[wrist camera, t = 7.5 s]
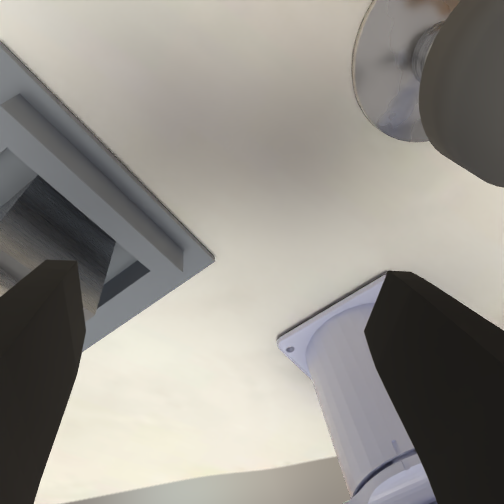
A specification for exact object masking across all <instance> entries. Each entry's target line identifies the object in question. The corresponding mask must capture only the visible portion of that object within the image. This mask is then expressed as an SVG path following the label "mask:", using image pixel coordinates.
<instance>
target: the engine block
mask: <svg viewBox="0 0 504 504" xmlns="http://www.w3.org/2000/svg"><path fill="white" fill-rule="evenodd" d="M115 243H116V241H115V240H114V239H113V238H112V237H110V236H109V235H108V234H107V233H106V232H105V231H103V230H102V229H101V228H100V227H99V226H98V225H96V224H95V223H94V222H93V221H92V220H91V219H89V218H88V217H87V216H86V215H85V214H83V213H82V212H81V211H80V210H79V209H78V208H76V207H75V206H74V205H73V204H72V203H71V202H69V201H68V200H67V199H66V198H65V197H64V196H62V195H61V194H60V193H59V192H58V191H57V190H55V189H54V188H53V187H52V186H51V185H50V184H48V183H47V182H46V181H45V180H44V179H42V178H41V177H40V176H39V175H37V176H36V177H35V178H34V179H33V180H31V181H30V182H29V183H28V184H27V185H26V186H24V187H23V188H22V189H21V190H20V191H19V192H18V193H16V194H15V195H14V196H13V197H12V198H11V199H10V200H8V201H7V202H6V203H5V204H4V205H3V206H1V207H0V297H1V296H2V295H3V294H4V293H6V292H7V291H8V290H9V289H10V288H12V287H13V286H14V285H15V284H17V283H18V282H19V281H20V280H21V279H23V278H24V277H25V276H26V275H28V274H29V273H30V272H31V271H33V270H34V269H35V268H36V267H37V266H39V265H40V264H41V263H43V262H44V261H45V260H73V261H77V263H78V271H79V279H80V287H81V294H82V302H83V310H84V318H85V322H86V321H87V320H89V319H90V318H92V317H93V316H94V315H95V314H96V310H97V307H98V303H99V300H100V296H101V292H102V289H103V285H104V282H105V278H106V275H107V271H108V268H109V264H110V261H111V257H112V254H113V250H114V247H115Z"/></svg>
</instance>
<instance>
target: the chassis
mask: <svg viewBox="0 0 504 504" xmlns="http://www.w3.org/2000/svg"><path fill="white" fill-rule="evenodd" d="M37 175H39V176H40V177H41V178H42V179H44V180H45V181H46V182H47V183H48V184H50V185H51V186H52V187H53V188H54V189H55V190H57V191H58V192H59V193H60V194H61V195H62V196H64V197H65V198H66V199H67V200H68V201H69V202H71V203H72V204H73V205H74V206H75V207H76V208H78V209H79V210H80V211H81V212H82V213H83V214H85V215H86V216H87V217H88V218H89V219H91V220H92V221H93V222H94V223H95V224H96V225H98V226H99V227H100V228H101V229H102V230H103V231H105V232H106V233H107V234H108V235H109V236H110V237H112V238H113V239H114V240H115V241H116V243H115V247H114V250H113V254H112V257H111V261H110V264H109V268H108V271H107V275H106V278H105V282H104V285H103V289H102V292H101V296H100V300H99V303H98V307H97V310H96V314H95V315H94V316H93V317H92V318H90V319H89V320H87V321H86V322H85V326H86V334H85V339H84V344H83V349H82V352H83V351H84V350H86V349H87V348H89V347H90V346H92V345H93V344H95V343H96V342H98V341H99V340H101V339H102V338H103V337H105V336H106V335H108V334H109V333H111V332H112V331H114V330H115V329H117V328H118V327H120V326H121V325H123V324H124V323H125V322H127V321H128V320H130V319H131V318H133V317H134V316H136V315H137V314H139V313H140V312H142V311H143V310H145V309H146V308H147V307H149V306H150V305H152V304H153V303H155V302H156V301H158V300H159V299H161V298H162V297H164V296H165V295H167V294H168V293H169V292H171V291H172V290H174V289H175V288H177V287H178V286H180V285H181V284H183V283H184V282H186V281H187V280H189V279H190V278H191V277H193V276H194V275H196V274H197V273H199V272H200V271H202V270H203V269H205V268H206V267H208V266H209V265H211V264H212V263H213V262H215V258H214V256H213V255H212V254H211V253H210V252H209V251H208V250H207V249H206V248H205V247H204V246H203V245H202V244H201V243H200V242H199V241H198V240H197V239H196V238H195V237H194V236H193V235H192V234H191V233H190V232H189V231H188V230H187V229H186V228H185V227H184V226H183V225H182V224H181V223H180V222H179V221H178V220H177V219H176V218H175V217H174V216H173V215H172V214H171V213H170V212H169V211H168V210H167V209H166V208H165V207H164V206H163V205H162V204H161V203H160V202H159V201H158V200H157V199H156V198H155V197H154V196H153V195H152V194H151V193H150V192H149V191H148V190H147V189H146V188H145V187H144V186H143V185H142V184H141V183H140V182H139V181H138V180H137V179H136V178H135V177H134V176H133V174H132V173H131V172H130V171H129V170H128V169H127V168H126V167H125V166H124V165H123V164H122V163H121V162H120V161H119V160H118V159H117V158H116V157H115V156H114V155H113V154H112V153H111V152H110V151H109V150H108V149H107V148H106V147H105V146H104V145H103V144H102V143H101V142H100V141H99V140H98V139H97V138H96V137H95V136H94V135H93V134H92V133H91V132H90V131H89V130H88V129H87V128H86V127H85V126H84V125H83V124H82V123H81V122H80V121H79V120H78V119H77V118H76V117H75V116H74V115H73V114H72V113H71V112H70V111H69V110H68V109H67V108H66V107H65V106H64V105H63V104H62V103H61V102H60V101H59V100H58V99H57V98H56V97H55V96H54V95H53V94H52V93H51V92H50V91H49V90H48V89H47V88H46V87H45V86H44V85H43V84H42V83H41V82H40V81H39V80H38V79H37V78H36V77H35V76H34V75H33V74H32V73H31V72H30V71H29V70H28V69H27V68H26V67H25V66H24V65H23V64H22V63H21V62H20V61H19V59H18V58H17V57H16V56H15V55H14V54H13V53H12V52H11V51H10V50H9V49H8V48H7V47H6V46H5V45H4V44H3V43H2V42H1V41H0V207H1V206H3V205H4V204H5V203H6V202H7V201H8V200H10V199H11V198H12V197H13V196H14V195H15V194H16V193H18V192H19V191H20V190H21V189H22V188H23V187H24V186H26V185H27V184H28V183H29V182H30V181H31V180H33V179H34V178H35V177H36V176H37Z"/></svg>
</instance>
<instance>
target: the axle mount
mask: <svg viewBox="0 0 504 504" xmlns="http://www.w3.org/2000/svg"><path fill="white" fill-rule="evenodd" d="M460 1H461V0H373V2H372V3H371V5H370V7H369V9H368V10H367V12H366V14H365V17H364V19H363V21H362V23H361V26H360V29H359V32H358V35H357V38H356V42H355V47H354V51H353V60H352V79H353V87H354V91H355V95H356V98H357V101H358V103H359V106H360V108H361V109H362V111H363V113H364V114H365V116H366V117H367V118H368V120H369V121H370V122H371V123H372V124H373V125H374V126H376V127H377V128H378V129H379V130H381V131H382V132H384V133H385V134H387V135H389V136H391V137H393V138H396V139H398V140H403V141H408V142H424V141H429V139H428V137H427V135H426V134H425V132H424V129H423V126H422V123H421V118H420V112H419V88H420V81H421V76H422V71H423V68H424V65H425V61H426V58H427V55H428V53H429V51H430V48H431V46H432V44H433V41H434V39H435V38H436V36H437V34H438V32H439V30H440V28H441V27H442V25H443V24H444V22H445V21H446V19H447V18H448V16H449V15H450V13H451V12H452V11H453V9H454V8H455V7H456V6H457V4H458V3H459V2H460Z"/></svg>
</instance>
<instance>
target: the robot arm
mask: <svg viewBox="0 0 504 504" xmlns="http://www.w3.org/2000/svg"><path fill="white" fill-rule="evenodd" d="M85 334H86V326H85V318H84V310H83V302H82V294H81V287H80V279H79V271H78V263H77V261H73V260H45V261H44V262H43V263H41V264H40V265H39V266H37V267H36V268H35V269H34V270H33V271H31V272H30V273H29V274H28V275H26V276H25V277H24V278H23V279H21V280H20V281H19V282H18V283H17V284H15V285H14V286H13V287H12V288H10V289H9V290H8V291H7V292H6V293H4V294H3V295H2V296H1V297H0V504H34V500H35V497H36V494H37V490H38V487H39V484H40V481H41V477H42V475H43V472H44V469H45V466H46V463H47V460H48V457H49V454H50V452H51V449H52V446H53V443H54V440H55V437H56V434H57V431H58V429H59V426H60V423H61V420H62V417H63V414H64V411H65V408H66V405H67V402H68V400H69V397H70V394H71V391H72V388H73V385H74V382H75V379H76V376H77V372H78V368H79V363H80V359H81V354H82V349H83V344H84V339H85ZM277 346H278V348H279V349H280V350H281V351H282V352H283V353H284V354H285V355H286V356H287V357H288V358H289V359H290V360H291V361H292V362H293V363H295V364H296V365H297V366H298V367H299V368H300V369H301V370H302V371H303V372H304V373H305V374H306V375H307V376H308V377H309V378H310V379H312V381H313V384H314V387H315V390H316V393H317V396H318V399H319V402H320V406H321V409H322V412H323V415H324V418H325V421H326V424H327V427H328V430H329V433H330V436H331V439H332V442H333V446H334V449H335V452H336V455H337V458H338V461H339V464H340V467H341V470H342V473H343V476H344V479H345V482H346V486H347V488H348V492H349V495H350V498H351V499H350V500H348V501H346V502H344V503H342V504H504V331H503V330H502V329H500V328H499V327H497V326H495V325H494V324H492V323H491V322H489V321H488V320H486V319H485V318H483V317H482V316H480V315H479V314H477V313H476V312H474V311H472V310H471V309H469V308H468V307H466V306H465V305H463V304H462V303H460V302H459V301H457V300H456V299H454V298H453V297H451V296H450V295H448V294H447V293H445V292H444V291H442V290H441V289H439V288H437V287H436V286H434V285H433V284H431V283H429V282H428V281H426V280H424V279H423V278H421V277H419V276H417V275H416V274H414V273H412V272H405V271H388V272H387V274H386V275H383V276H382V277H380V278H378V279H377V280H375V281H373V282H372V283H370V284H368V285H366V286H365V287H363V288H361V289H360V290H358V291H356V292H355V293H353V294H351V295H350V296H348V297H346V298H345V299H343V300H341V301H340V302H338V303H336V304H335V305H333V306H331V307H330V308H328V309H326V310H325V311H323V312H321V313H320V314H318V315H316V316H315V317H313V318H311V319H310V320H308V321H306V322H304V323H303V324H301V325H299V326H298V327H296V328H294V329H293V330H291V331H289V332H288V333H286V334H284V335H283V336H281V337H280V338H278V340H277ZM288 347H290V348H288Z"/></svg>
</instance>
